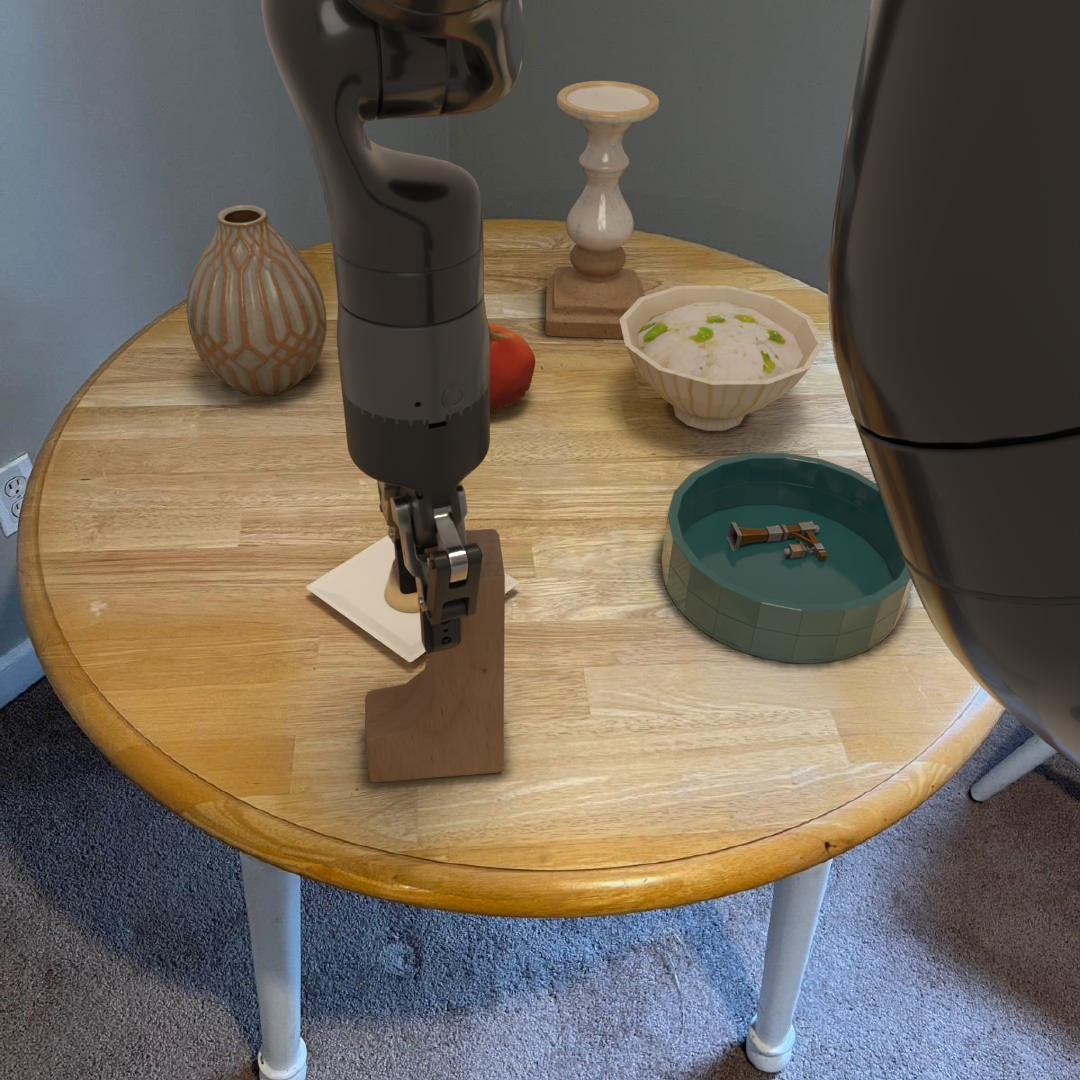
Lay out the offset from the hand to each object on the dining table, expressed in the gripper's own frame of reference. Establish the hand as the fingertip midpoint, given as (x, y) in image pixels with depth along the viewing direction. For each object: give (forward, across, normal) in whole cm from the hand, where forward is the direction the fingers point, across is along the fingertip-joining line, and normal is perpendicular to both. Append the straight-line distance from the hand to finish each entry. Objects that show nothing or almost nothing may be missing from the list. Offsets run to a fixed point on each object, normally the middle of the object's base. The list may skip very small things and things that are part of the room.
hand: (428, 615), depth 66 cm
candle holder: (+13, -54, +35) cm, 66 cm away
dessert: (+14, -16, +3) cm, 21 cm away
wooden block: (+14, 0, 0) cm, 14 cm away
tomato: (+13, -41, +18) cm, 47 cm away
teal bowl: (+13, -8, +32) cm, 36 cm away
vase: (+13, -52, -2) cm, 54 cm away
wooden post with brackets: (+12, -10, +32) cm, 36 cm away
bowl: (+13, -32, +38) cm, 52 cm away
